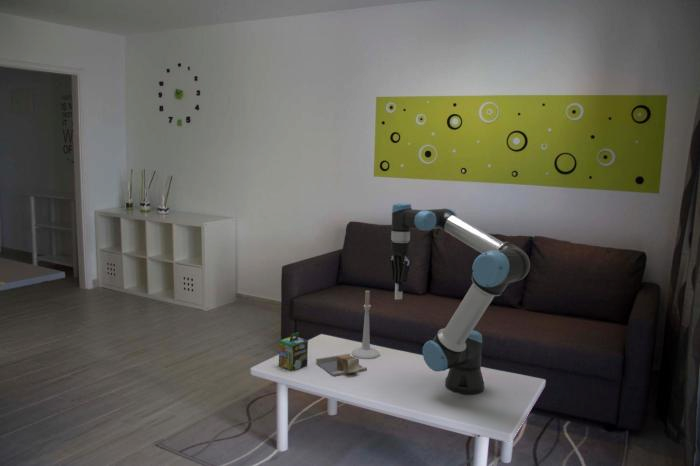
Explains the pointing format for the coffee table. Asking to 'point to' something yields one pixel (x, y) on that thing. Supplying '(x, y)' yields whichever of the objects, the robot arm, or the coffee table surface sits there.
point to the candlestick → (366, 336)
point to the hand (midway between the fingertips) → (398, 298)
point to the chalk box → (293, 352)
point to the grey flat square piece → (334, 365)
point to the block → (348, 363)
